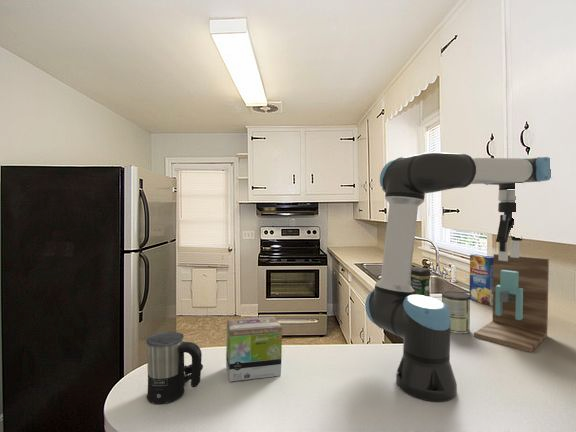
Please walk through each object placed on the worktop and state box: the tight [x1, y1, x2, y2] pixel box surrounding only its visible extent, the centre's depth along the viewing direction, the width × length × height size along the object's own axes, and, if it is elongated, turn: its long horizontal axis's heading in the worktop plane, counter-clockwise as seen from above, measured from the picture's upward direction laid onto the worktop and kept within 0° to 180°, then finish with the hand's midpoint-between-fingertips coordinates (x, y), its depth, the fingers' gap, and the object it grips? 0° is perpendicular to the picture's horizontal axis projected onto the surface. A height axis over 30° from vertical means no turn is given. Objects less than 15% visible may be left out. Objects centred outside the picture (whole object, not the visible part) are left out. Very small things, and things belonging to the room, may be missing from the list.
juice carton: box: [468, 253, 494, 306], centre depth 173 cm, size 12×8×24 cm, turn 21°
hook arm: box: [500, 291, 516, 303], centre depth 125 cm, size 18×2×4 cm, turn 131°
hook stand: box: [473, 253, 550, 353], centre depth 125 cm, size 22×18×30 cm
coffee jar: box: [410, 266, 432, 297], centre depth 168 cm, size 10×8×19 cm
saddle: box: [495, 270, 523, 320], centre depth 123 cm, size 3×8×17 cm, turn 41°
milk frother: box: [145, 331, 204, 405], centre depth 89 cm, size 14×16×15 cm
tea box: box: [225, 316, 283, 383], centre depth 97 cm, size 15×10×15 cm, turn 105°
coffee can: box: [441, 290, 471, 335], centre depth 133 cm, size 10×10×14 cm
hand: (509, 259), depth 123 cm, fingers open, 13 cm apart
